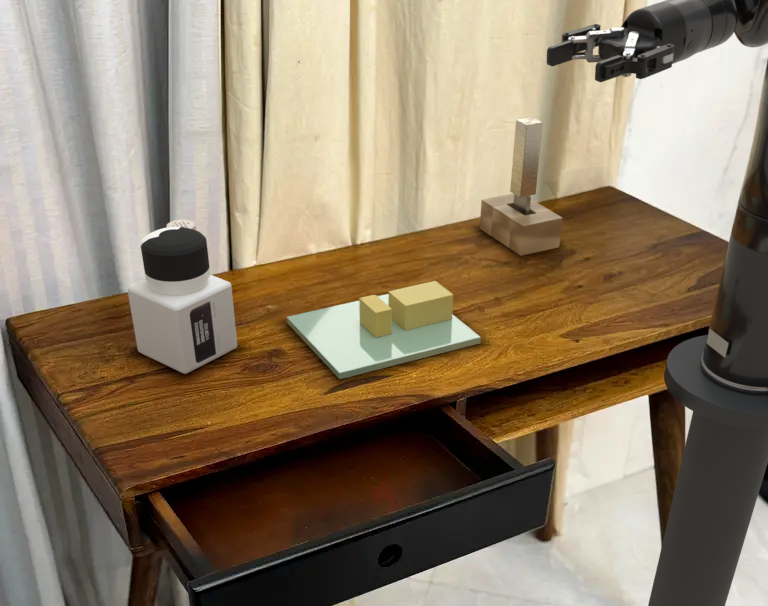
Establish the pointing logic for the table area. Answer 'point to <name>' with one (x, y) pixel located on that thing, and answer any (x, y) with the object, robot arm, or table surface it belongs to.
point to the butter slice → (375, 315)
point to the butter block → (420, 305)
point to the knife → (525, 162)
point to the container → (181, 302)
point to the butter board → (374, 339)
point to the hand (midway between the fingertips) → (572, 65)
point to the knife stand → (520, 225)
